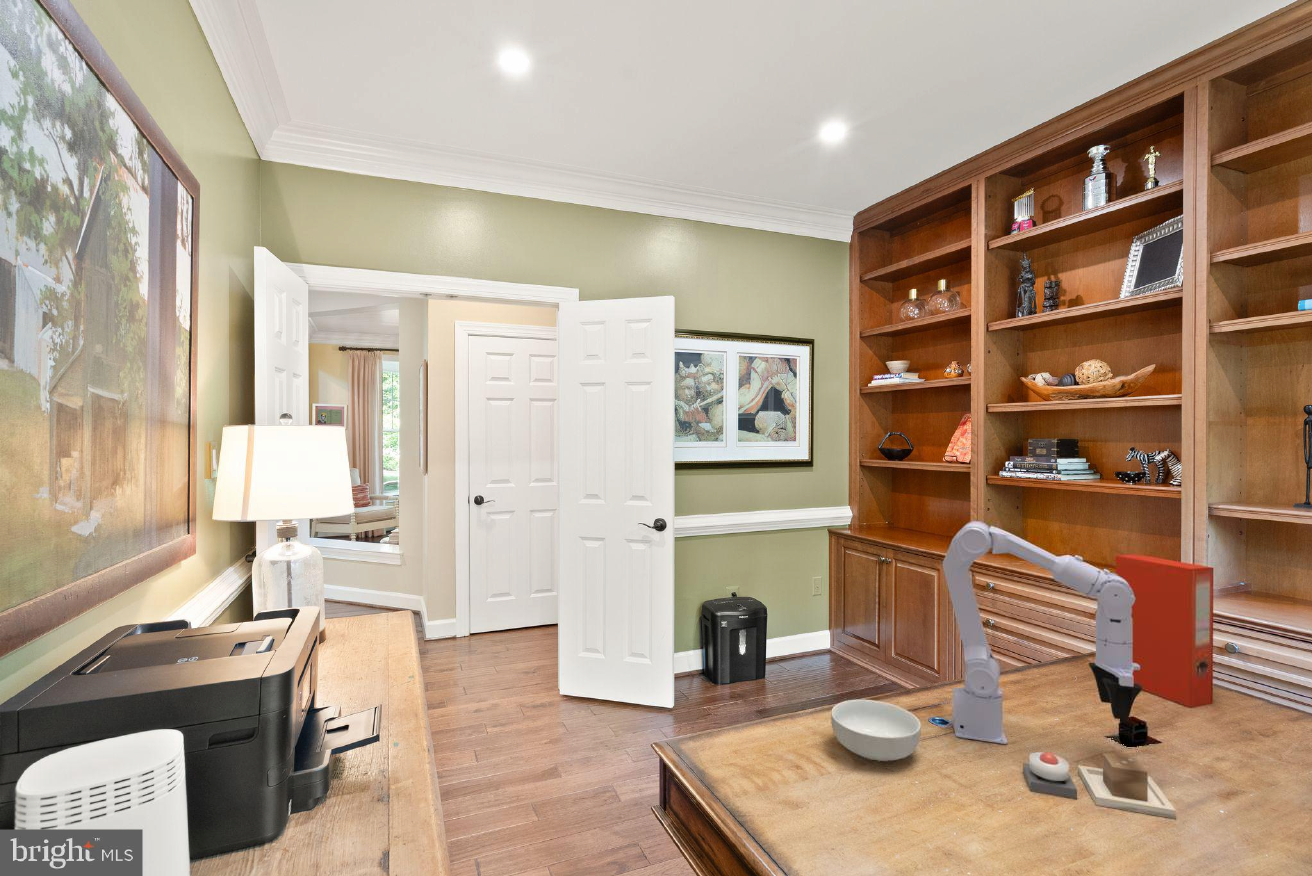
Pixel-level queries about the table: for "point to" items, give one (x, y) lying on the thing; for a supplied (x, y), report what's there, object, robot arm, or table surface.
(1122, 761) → the die
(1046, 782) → the grey button base
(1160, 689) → the file binder
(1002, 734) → the robot arm
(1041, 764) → the dome
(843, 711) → the cereal bowl
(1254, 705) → the table surface
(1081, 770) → the die pad
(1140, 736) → the black tapered mount
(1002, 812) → the table surface
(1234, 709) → the table surface
